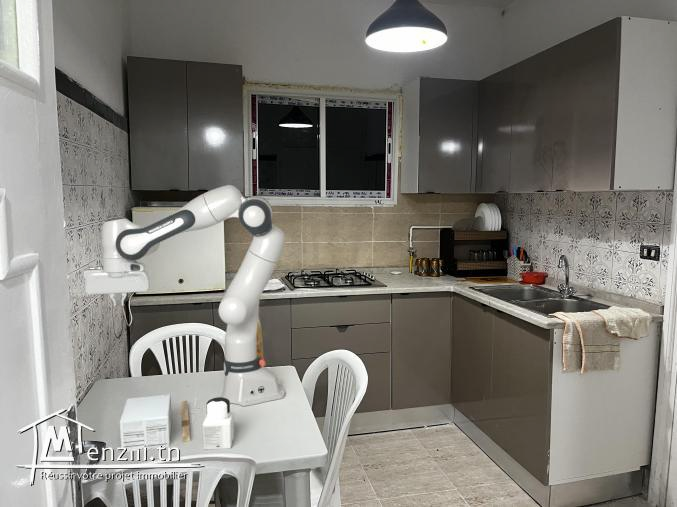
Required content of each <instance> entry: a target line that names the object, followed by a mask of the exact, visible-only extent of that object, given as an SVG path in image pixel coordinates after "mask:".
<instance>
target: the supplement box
mask: <svg viewBox="0 0 677 507" xmlns="http://www.w3.org/2000/svg"><path fill="white" fill-rule="evenodd" d="M172 410H173V409H172V395H171V394H160V395H159V394H158V395H152V396H151V395H150V396H142V397H131V398H127V399H126V401H125V404H124V408H123V410H122V414H121V417H120V420H119V436H120V446H121V448H127V451H126V452H125V453H127V452H136V451H140V450H139V449H142V448H144V446H145V445H146V446H147V449H146V450H151V449H150V448H152V449H158V447H159V446H162V447H161V448H167V447H170V446H171V434H172V424H173V412H172ZM121 448H120V449H121Z"/></svg>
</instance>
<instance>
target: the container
mask: <svg viewBox="0 0 677 507" xmlns="http://www.w3.org/2000/svg"><path fill="white" fill-rule="evenodd" d="M230 405H231V404H230V401H229V400H228V399H227V398H223V397H222V396H221V397H220V396H218V397H213V398H211V399H209V400H208V401H206V415H205V418H204V420H203V423H202V444H203V445H202V447H203V450H204V449H208V450H226V449H227V450H229V449H232V445H233V442H234V437H235V422H234V419H235V418H234V417H235V416H234V411H231V406H230Z"/></svg>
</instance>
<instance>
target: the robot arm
mask: <svg viewBox="0 0 677 507" xmlns="http://www.w3.org/2000/svg"><path fill="white" fill-rule="evenodd" d="M230 218H237V219H238V220H239V223H240V224H241V226H242V227H243V228H244V229H245V230H246V231H248V232H249V233H250V234H251V235H252V238H253V239H252V240H251V243H250V245H249V247H248V250H247V251H246V254H245V256H244V258H243V260H242V262H241V265H240V266H239V269H238V271H237V272H236V274H235V275H234V278H233V279H232V280H231V283H230V284H229V286H228V288H227V290H226V292H225V293H224V295H223V297H222V299H221V301H220V303H219V307H218V316H219V318H220V319H221V321H223V322H224V323H225V324H227V325H226V331H225V335H224V352H225V353H224V355H225V356H224V357H225V358H224V360H223V361H224V362H223V372H224V382H223V383H224V384H223V389H222V393H221V397H223V398H227V399H228V400H229V401H230V403H231V404H236V405H239V406H242V407H247V406H252V405H257V404H262V403H266V402H272V401H276V400H281V399H283V398H284V397H285V396H286V390H285V388H284V387H283V385H281V384H279V381H278V378H277V376H276V374H275V373H274V372H272V371H271V370H269V369H268V368H267V367H266V365H267V364H266V361H265V360H264V358H263V359H262V358H261V357H260V356H259V355H258V356H257V326H258V314H259V315H260V313H259V312H260V297H261V296H262V294H263V292H264V290H265V288H266V287H267V285H268V283H269V281H270V279H271V277H272V274H273V273H274V271H275V269H276V267H277V264H278V262H279V260H280V257H281V255H282V253H283V250H284V247H285V242H286V234H285V232H283V230H282V229H281V228H279V227H278V226H276V225H275V224H273V209H272V206H271V204H270V203H269V201H268V200H266V199H265V198H263V197H259V196H249V195H245V196H243V194H242V192H241V191H240V190H239V189H238V188H237V187H236V186H234V185H231V184H227V185H223V186H220V187H216V188H214V189H210V190H208V191H207V192H204V193H202V194H200V195H198V196H197V197H195V198H193V199H191V200H190V201H189V202H187V203H186V204H184V205H183V206H182V207H181V208H179V209H178V210H176V211H175V212H173V213H172V214H170V215H169V216H166V217H164V218H162V219H160V220H158V221H155V222H154V223H151V224H150V225H149V224H148V225H147V226H145V227H144V226H142V225H140V224H136V223H135V222H132V221H130V220H129V219H128V218H126V217H118V218H117V217H116V218H111V219H107V220H105V221H104V222H103V223H102V227H101V246H102V250H103V252H102V258H101V259H102V265H101V266H88V267H86V268H85V269H84V270H83V278H84V280H85V282H84V283H85V284H84V293H85V294H86V295H88V296H90V295H91V296H92V295H109V297H110V299H111V300H112V302H113V305H114V306H113V307H124V305H125V304H124V303H125V299H126V297H127V294H129V293H145V292H149V291H150V288H151V285H150V276H149V274H148V272H147V271H146V270H145V269H146V265H145V263H144V262H142V261H141V262H140V261H137V260H140V259H142V258H144V257H146V256H150V255H151V254H153V253H155V252H156V251H157V250H158V248H159V246H160V244H161V243H162V242H164V241H166V240H168V239H170V238H172V237H174V236H177V235H179V234H182V233H187V232H193V231H199V230H204V229H207V228H211V227H213V226H215V225H218V224H220V223H222V222H223V221H225V220H229V219H230ZM116 294H121V296H122V298H121V299H119V300H118V299H116V298H115V296H116Z"/></svg>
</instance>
